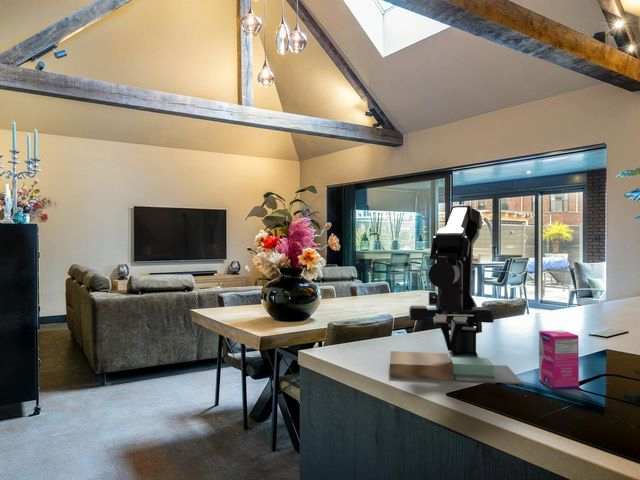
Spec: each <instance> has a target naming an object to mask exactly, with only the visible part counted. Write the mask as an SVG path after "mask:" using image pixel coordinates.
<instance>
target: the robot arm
mask: <svg viewBox="0 0 640 480" xmlns="http://www.w3.org/2000/svg"><path fill="white" fill-rule="evenodd" d="M450 208H451V209H450V212H449V214H448V219H447V223H446V225H445V226H444V227H440V228H439V229H438V230H437V232H436V233H435V235H433V238H432V243H431V248H430V249H431V250H430V255H429V260H430V261H436V262H435V263H433V264H432V265H431V267H430V268H429V270H428V274H427V275H428V279H429V281H430V282H431V284H432V285H433V286H434V287H437V292H436V291H429V292H428V306H430V307H431V306H433V307H435V309H428V308H427V307H428V306H426V305H410V307H409V308H408V309H409V311H408V312H409V313H408V317H409V320H410V321H421V322H424V321H425V320H427V319H428V318H432V320H433V323H434V325H435V326H437V325H438V326H439V329H440V330H441V333H442V335H443V338H444V343H445V346H446V349H447V350H448V351H449V352H451V354H452V355H453V356H472V357H474V356H477V357H478V353H477V334H479V333H483V323H485V324H486V323H489V324H494V322H495V321H494V320H495V319H494V312H493V311H492V310H491V309H490V308H488V307H483V306H482V307H481V306H480V307H478V305H477V303H476V301H475V299H474V298H473V296H472V291H473V290H472V288H473V284H472V283H473V261H474V259H473V257H474V256H473V255H474V244H475V242H476V241H477V240H478V238H479V237H480V230H482V228H483V227H482V226H483V220H482V219H483V217H482V215H481V214H482V213H481V212H480V211H478V210H477V209H474V208H473V207H472V205H470V204H454V205H451V207H450Z"/></svg>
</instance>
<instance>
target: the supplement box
mask: <svg viewBox="0 0 640 480" xmlns="http://www.w3.org/2000/svg"><path fill="white" fill-rule="evenodd" d="M579 357H580V355H579V335H578V334H576V333H572V332H568V331H566V330H563V329H557V330H553V329H552V330H538V373H539V374H538V378H539V379H538V380H539V381H538V382H540V383H542V384H544V385H545V386H547V385H548V387H549V386H550V387H549V388H551V387H552V388H553V389H552V388H551V389H552V390H554V389H562V390H579V389H580V379H579V378H580V377H579V375H580V373H579V370H580V369H579V367H580V363H579V359H580V358H579Z"/></svg>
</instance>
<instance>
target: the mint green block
mask: <svg viewBox="0 0 640 480" xmlns="http://www.w3.org/2000/svg"><path fill="white" fill-rule="evenodd" d="M449 359H450V361H451V363H452V365H453V374H462V375H484V376H494V365H495V364H493V363H492V361H491V360H490V359H489V358H483V357H481V358H480V357H479V358H478V357H454V356H453V357H452V356H451V357H450V356H449Z"/></svg>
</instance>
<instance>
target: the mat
mask: <svg viewBox="0 0 640 480" xmlns="http://www.w3.org/2000/svg"><path fill="white" fill-rule="evenodd" d="M493 365H494V376H484V375H462V374H453V379H455V382H461V383H462V382H463V383H481V384H482V383H483V384H496V383H502V384H501V385H516V384H518V385H519V386H522V385H524V382H523V381H522V380H521V379H520V378H519V377H518V376H517V375H516V374H515V372H513V371H512V369H511V367H509V366H508V365H500V364H493ZM503 383H504V384H503ZM518 385H517V386H518Z"/></svg>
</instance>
